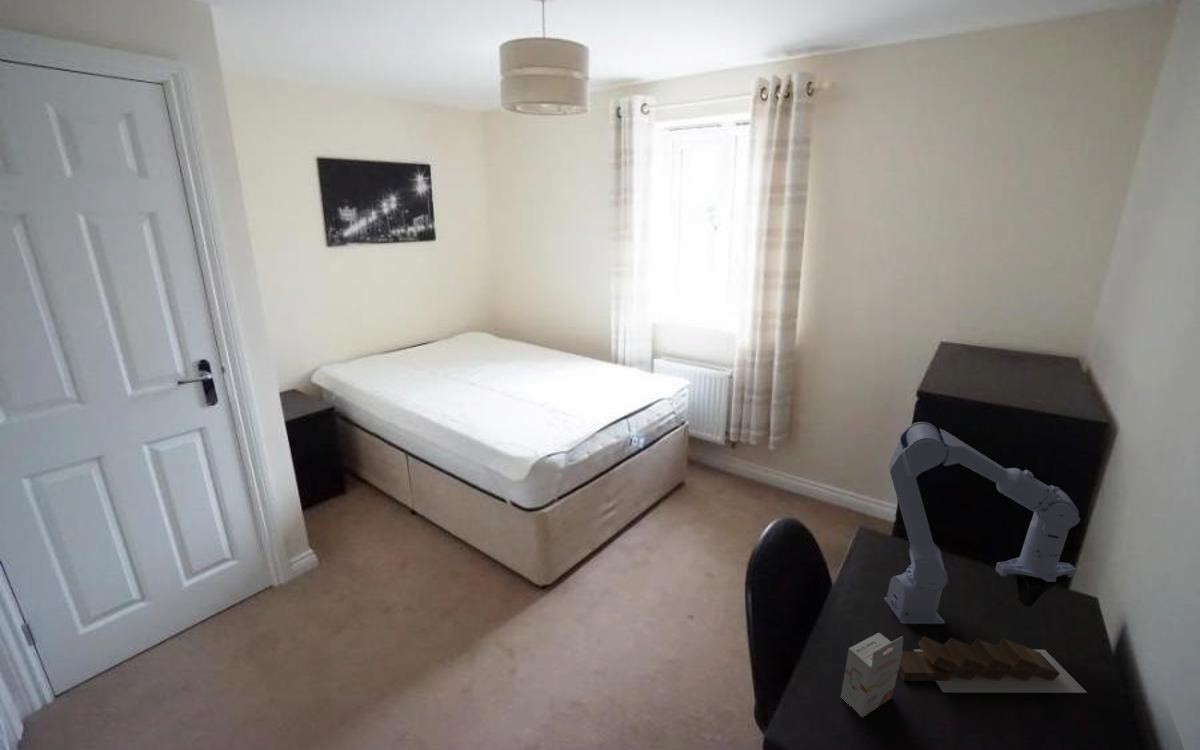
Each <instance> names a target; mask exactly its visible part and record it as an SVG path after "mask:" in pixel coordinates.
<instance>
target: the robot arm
mask: <svg viewBox="0 0 1200 750" xmlns="http://www.w3.org/2000/svg"><path fill="white" fill-rule="evenodd" d="M939 431H940V432H939ZM941 463H942V464H943V466H944V467H947V466H952V465H956V464H960V465H962V466H963V467H966V469H970V470H971V471H972V472H975V473H976V474H978V475H981V476H982V477H985V478H986V479H988V480H989V481H992V482H993V483H995V487H996V490H997V491H998V492H999V493H1000V494H1003V495H1004V496H1005V497H1007V498H1009V499H1011V500H1013V501H1014V502H1016V503H1017V504H1019V505H1021V506H1023V507H1024V508H1026V509H1028V510H1029V511H1032V512H1033V515H1032V517H1031V521H1030V523H1029V526H1028V529H1027V532H1026V535H1025V539H1024V542H1023V546H1022V549H1021V552H1020V555H1019V557H1016V558H1012V559H1009V560H1006V561H1005V560H1004V561H999V562H996V565H995V571H996V572H997V573H998V575H1000V576H1001V577H1007V575H1014V577H1015V578H1014V579H1015V580H1016V585H1017V599H1018V601H1019V602H1020V604H1022V605H1023V606H1024V607H1033V605H1034V604H1036V601H1038V600H1039V598H1040V597H1041V596H1042V595H1044V594H1045V593H1046V592H1047V591H1049V590H1051V589H1052V588H1055V585H1056V582H1057V577H1060V576H1066V577H1068V578H1075V576H1076V574H1077V573H1076V572H1077V568H1075V567H1074V566H1073V565H1072V564H1071V563H1069V562H1060V558H1061V554H1062V553H1063V549H1064V547H1065V543H1066V541H1067V537H1068V534H1069V530H1070V529H1071V528H1074V527H1075V526H1077V525H1078V524H1079V522H1080V521H1081V517H1079V516H1080V512H1079V509H1078V507H1077V506H1076V505H1075V503H1074V502H1073V501H1072V499H1071V498H1070V496H1068V494H1067V493H1066V492H1065V491H1063V490H1062V489H1061V487H1058V486H1054V485H1052V484H1051V485H1047V484H1046V483H1044V482H1042V481H1040V480H1039V479H1037V478H1035V476H1034V475H1035V474H1033V473H1032V472H1031V471H1030V470H1028V469H1025V470H1022V469H1020V468H1017V467H1010V468H1008V467H1007V468H1005V467H1003V466H1002V465H1000V464H998V463H997V461H994V460H992V459H991V458H989V457H987V456H986V455H985V454H984V453H982V452H980V451H978V450H977V449H975V448H974V447H971V446H970V445H968V444H966V442H964V441H963V440H960V439H959V438H957V437H956V436H955V435H952V434H951V433H950V432H947V430H944V429H941V428H939V430H938V428H937V427H936V425H933V424H932V423H930V422H927V421H918V422H913V423H912V424H911V425H909V426H908V427H907V428H906V429H905V430H904V431H903V432H902V433H900V436H899V439H898V443H897V446H896V448H895V449H894V452H893V455H892V457H891V459H890V461H889V464H888V465H889V466H888V467H889V473H890V478H891V480H892V484H893V487H894V492H895V495H896V499H897V501H898V506H899V509H900V513H901V516H902V519H903V520H902V521H903V524H904V527H905V530H906V535H907V538H908V542H909V546H910V547H909V549H908V555H909V558H910V562H911V564H909V566H908V567H907V568H906V570H905V572H903V573H901V574H898V575H894V576H892V577H891V578H890V580H889V585H888V589H887V595H886V596H885V597H884V601H885V602H886V603H887V605H888V606H889V607H890V609H891V611H892V612H893V613H894V614H895V616H896V617H897V618H898V620H899V621H900V623H901V624H903V625H904V624H905V625H911V624H912V625H913V624H914V625H919V624H920V625H945V623H946V621H945V620H944V619H943V617H942V616H941V615H940V614H939V613H938V608H939V605H940V601H941V597H942V593H943V589H944V588H945V587H946V586H947V584H948V582H949V576H948V573H947V571H946V568H945V566H944V561H943V554H942V551H941V549H940V548H939V546H937V545H936V543H935V542H934V539H933V536H932V533H931V530H930V525H929V522H928V518H927V514H926V510H925V506H924V503H923V499H922V495H921V491H920V488H919V485H918V480H917V477H919V475H921V474H922V473H923V472H926V471H929V470H931V469H932V468H935V467H936V466H939V465H940V464H941Z"/></svg>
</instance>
